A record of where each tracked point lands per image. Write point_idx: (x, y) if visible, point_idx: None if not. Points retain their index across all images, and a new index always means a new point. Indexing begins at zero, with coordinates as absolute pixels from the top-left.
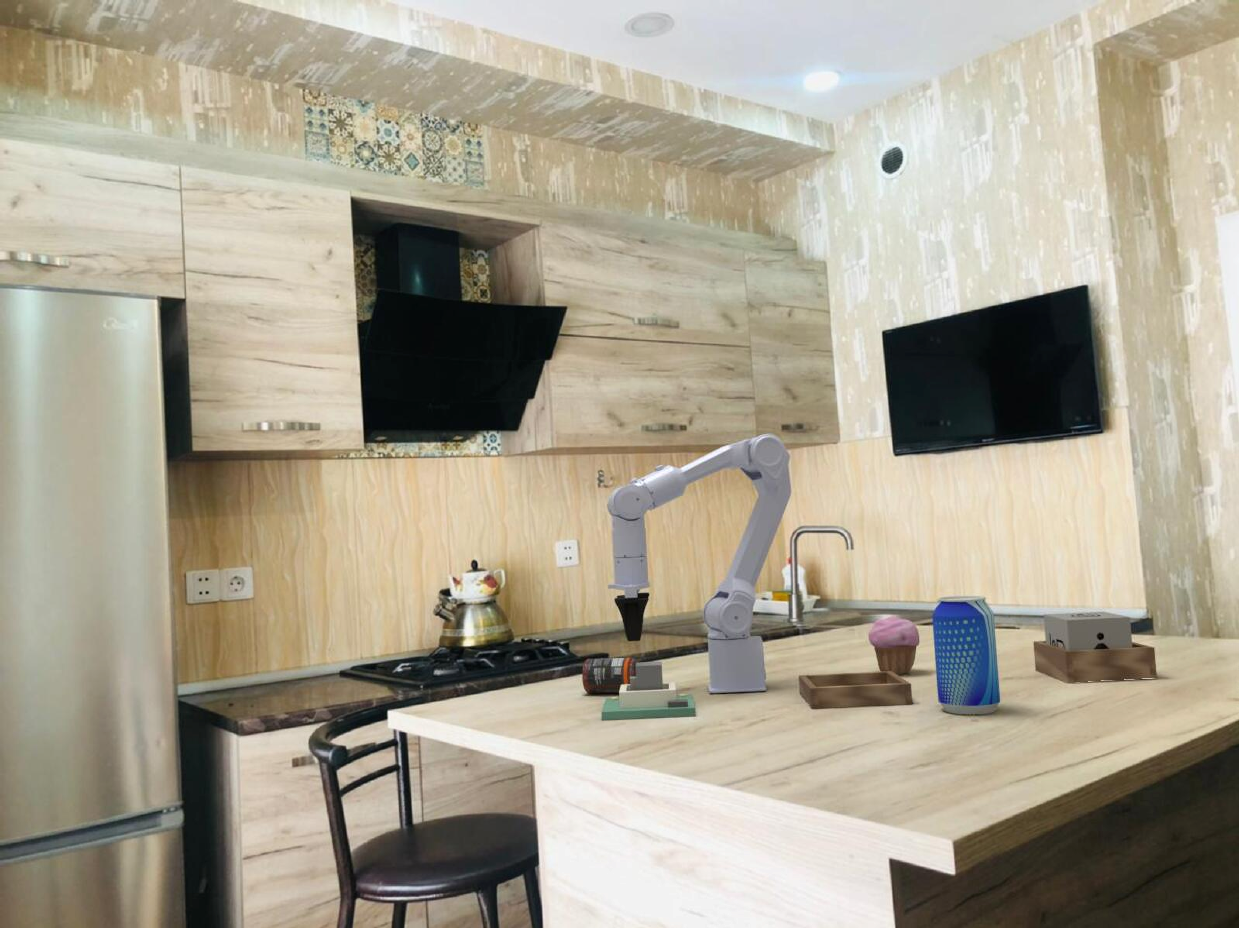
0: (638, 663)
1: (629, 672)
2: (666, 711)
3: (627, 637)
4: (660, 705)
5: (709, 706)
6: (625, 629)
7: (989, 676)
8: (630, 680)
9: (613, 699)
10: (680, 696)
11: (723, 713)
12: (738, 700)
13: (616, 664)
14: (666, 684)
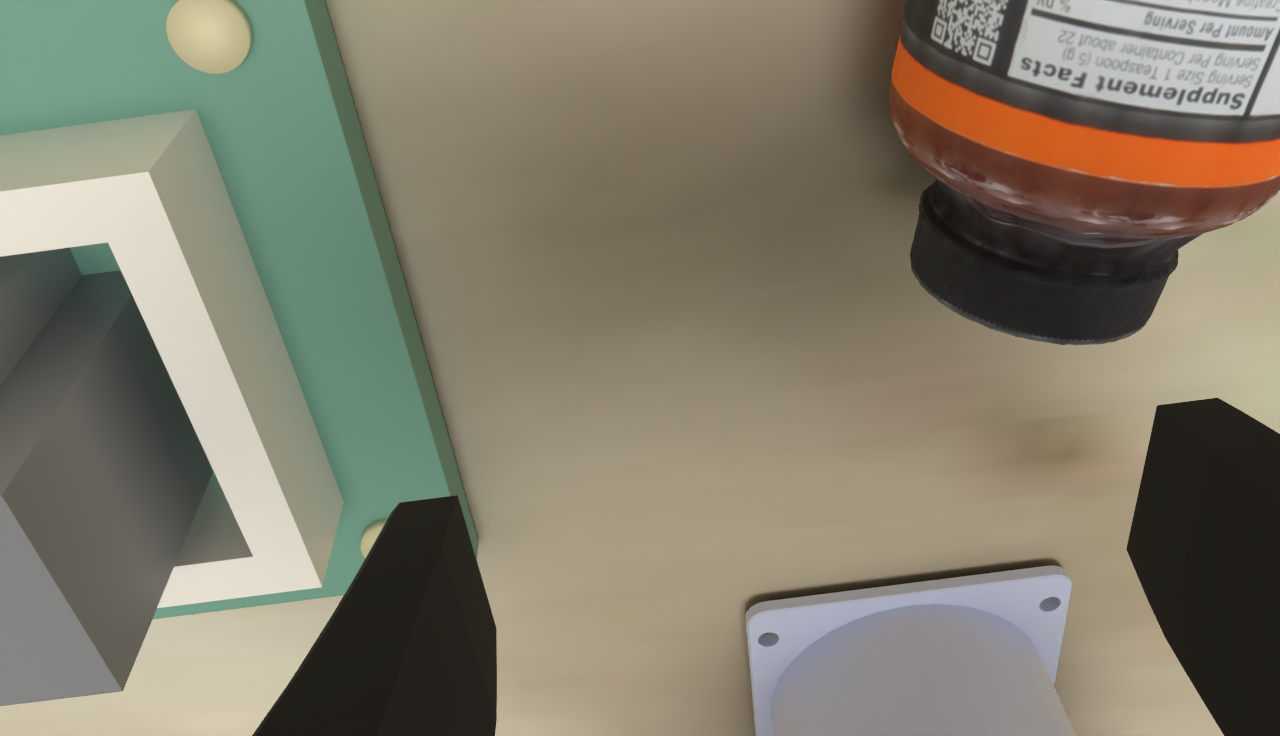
0: None
1: (919, 145)
2: None
3: (380, 547)
4: None
5: (316, 633)
6: (315, 645)
7: None
8: None
9: (172, 27)
10: (368, 527)
11: (97, 710)
12: (515, 733)
13: (1056, 5)
14: (250, 536)
